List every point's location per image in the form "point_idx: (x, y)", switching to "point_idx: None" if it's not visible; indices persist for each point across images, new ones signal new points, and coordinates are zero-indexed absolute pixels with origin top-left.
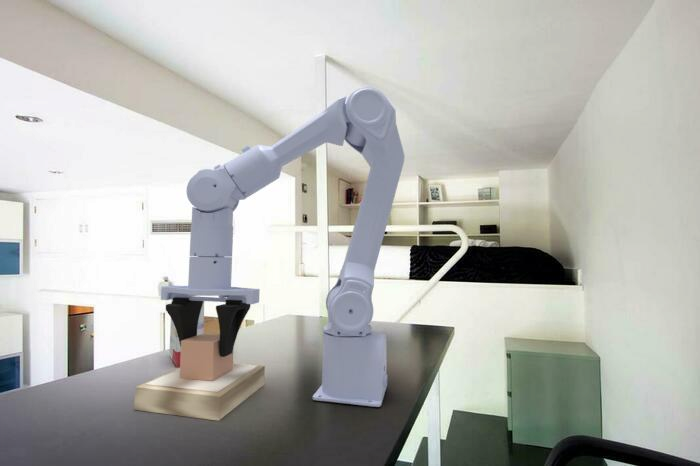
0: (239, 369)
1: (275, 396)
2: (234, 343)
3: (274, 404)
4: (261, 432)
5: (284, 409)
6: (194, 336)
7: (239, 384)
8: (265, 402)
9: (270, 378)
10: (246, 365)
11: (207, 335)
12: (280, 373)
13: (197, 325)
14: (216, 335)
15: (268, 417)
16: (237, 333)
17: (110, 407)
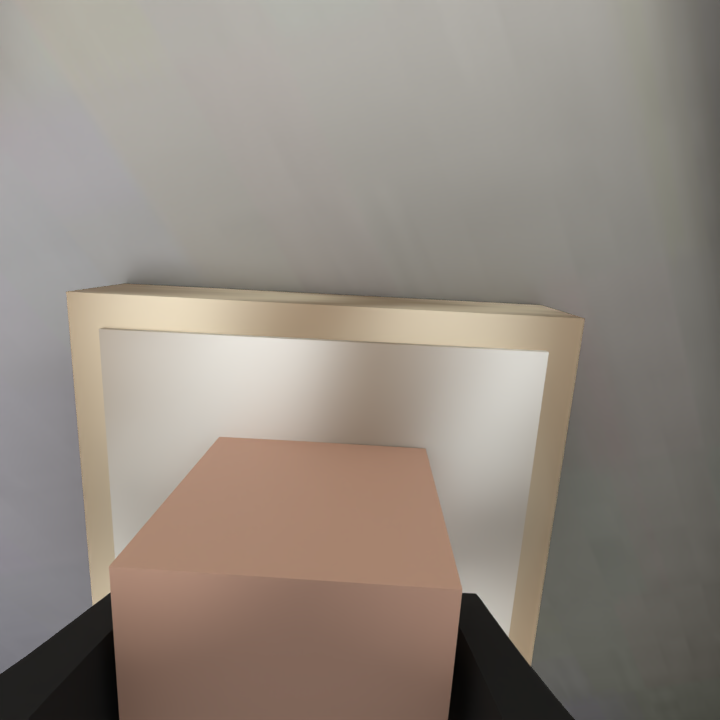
0: (462, 436)
1: (639, 427)
2: (507, 636)
3: (655, 502)
4: (665, 690)
5: (707, 536)
6: (126, 702)
7: (538, 590)
8: (612, 492)
9: (544, 199)
10: (473, 356)
11: (218, 651)
12: (580, 96)
13: (28, 716)
14: (306, 641)
15: (660, 602)
16: (561, 706)
17: (44, 632)
